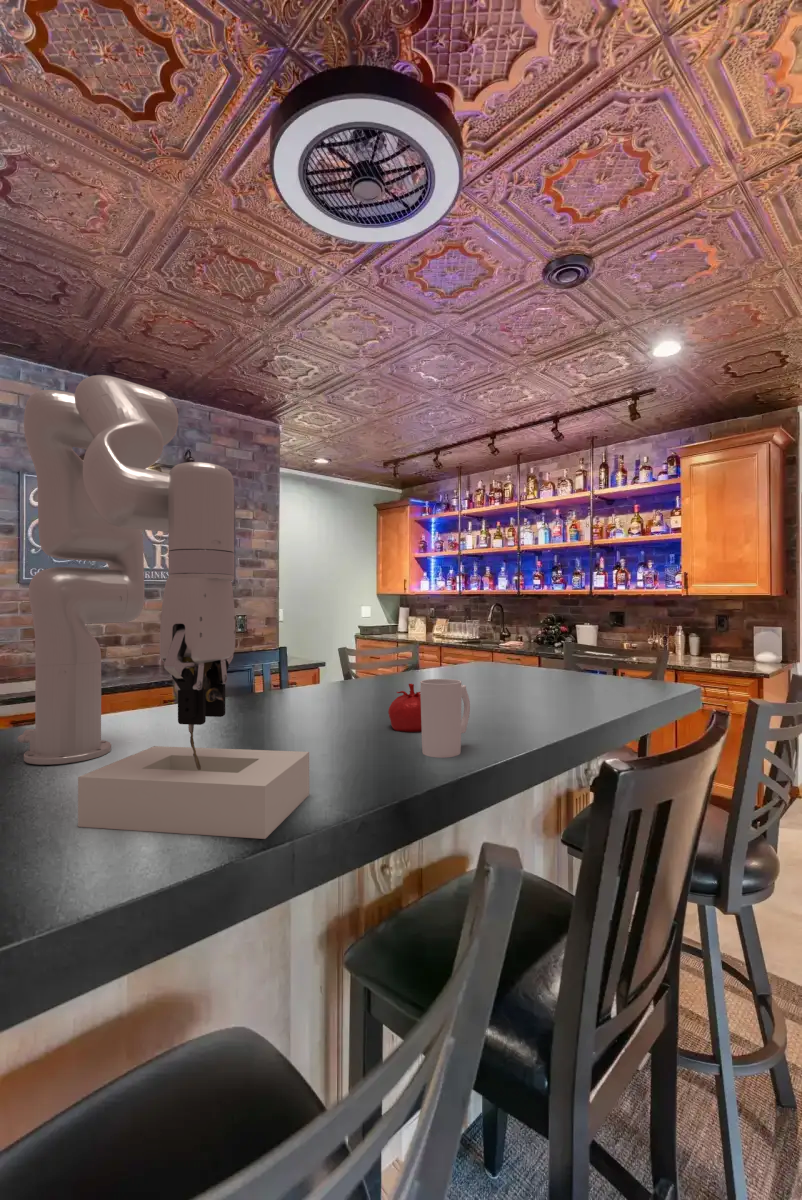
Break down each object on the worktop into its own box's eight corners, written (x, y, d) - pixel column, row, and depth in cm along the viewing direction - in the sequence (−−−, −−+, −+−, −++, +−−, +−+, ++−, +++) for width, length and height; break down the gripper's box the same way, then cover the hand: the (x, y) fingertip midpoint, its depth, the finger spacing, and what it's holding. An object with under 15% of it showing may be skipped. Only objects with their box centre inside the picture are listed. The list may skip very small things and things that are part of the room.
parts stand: (78, 826, 62) (78, 777, 62) (154, 786, 76) (154, 746, 76) (265, 838, 58) (265, 786, 58) (309, 794, 72) (309, 751, 72)
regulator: (167, 771, 67) (165, 646, 67) (193, 762, 70) (191, 643, 70) (213, 780, 63) (210, 649, 63) (238, 770, 67) (236, 646, 67)
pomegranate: (433, 738, 103) (433, 687, 103) (382, 735, 106) (381, 686, 106) (444, 727, 112) (443, 681, 113) (396, 724, 115) (396, 679, 115)
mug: (440, 762, 86) (439, 685, 86) (412, 754, 92) (411, 681, 92) (484, 751, 93) (483, 679, 93) (455, 744, 98) (455, 676, 98)
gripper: (208, 573, 76) (208, 707, 76) (129, 563, 60) (129, 734, 59) (260, 572, 75) (260, 708, 75) (193, 561, 58) (194, 736, 58)
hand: (202, 718), depth 67 cm, fingers closed on regulator, 4 cm apart
